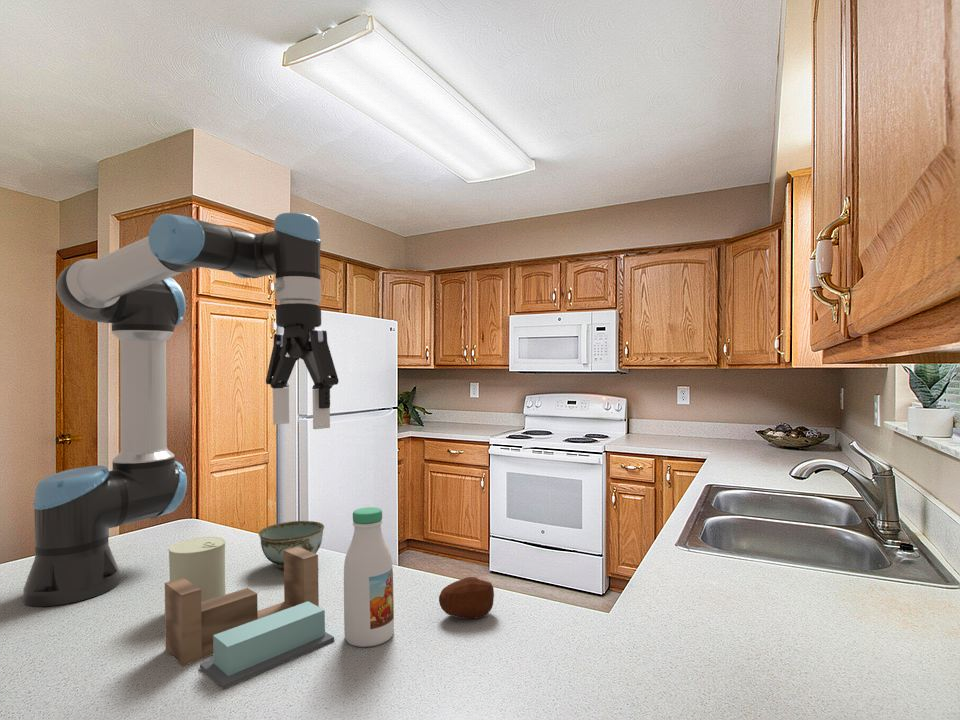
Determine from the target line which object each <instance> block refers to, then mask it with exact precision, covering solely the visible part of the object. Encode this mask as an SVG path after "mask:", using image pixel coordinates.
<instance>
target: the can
mask: <svg viewBox="0 0 960 720" xmlns="http://www.w3.org/2000/svg"><path fill="white" fill-rule="evenodd" d="M168 558H169V560H168V563H169V564H168V565H169V567H168V568H169V582H170V581H174V580H177V579H181V578H185V579H186V580H188V581H189V582H191V583H192V584H194V585H195V586H197V587H198V588H200V589H201V602H204V601H207V600H210V599H213V598H216V597H220V596H223V595H226V594H227V593H226V539H225V538H222V537H218V536H204V537H201V536H200V537H195V538H190V539H189V538H188V539H185V540H182V541H179V542H176V543H174V544H172V545H170V546H169V547H168Z"/></svg>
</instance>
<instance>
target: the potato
mask: <svg viewBox="0 0 960 720" xmlns="http://www.w3.org/2000/svg"><path fill="white" fill-rule="evenodd" d="M494 597H495V591H494V586H493V584H492V582H489V581H487V580H483V579H479V578H478V577H475V576H467V577H464V578H462V579H459V580H456V581H453V582H452V583H450V584H448V585H446V586H445V587H444V588H442V590H440V593H439V596H438V601H439V602H438V603H439V606H440V608H441V609H442V610H443V612H444V613H445V614H446V615H447V616H451V617H454V618H455V617H456V618H459V619H465V620H476V619H480V618H482V617H486V616H487V615H489V613H490V612H491V610H492V609H493V607H494V599H495V598H494Z"/></svg>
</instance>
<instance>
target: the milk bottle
mask: <svg viewBox="0 0 960 720" xmlns="http://www.w3.org/2000/svg"><path fill="white" fill-rule="evenodd" d="M382 519H383V510H382V509H381V508H379V507H374V506H373V507H372V506H369V507H360V508H357V509H355V510H353V512H352V526H354V529H353V536H352V539H351V542H350V544H349V546H348V549H347V550H346V555H345V559H344V566H343V622H344V623H343V624H344V626H343V627H344V629H343V630H344V639H345V641H346V642H347V643H348V644H349V645H351V646H353V647H359V648H369V647H375V646H379V645H381V644H384V643H386V642H387V641H389V640H390V639H391V638H392V636H393V634H394V631H395V630H394V629H395V620H394V619H395V617H394V616H395V610H394V609H395V607H394V606H395V605H394V603H395V602H394V601H395V600H394V570H393V569H394V568H393V558H392V554H391V551H390V547H389V546H388V544H387V542H386V540H385V537H384V534H383V532H382V525H383V520H382Z"/></svg>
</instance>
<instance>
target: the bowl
mask: <svg viewBox="0 0 960 720" xmlns="http://www.w3.org/2000/svg"><path fill="white" fill-rule="evenodd" d="M324 530H325V525H324V524H323V523H321V522H318V521H311V520H295V521H294V520H293V521H286V522H281V523H276V524H271V525H269V526H266V527H264V528H262V529H261V530H259V532H258V536H259V538H260V546H261V551H262V552H263V555H264V556H265V558H266V559H267V560H268V561H270V562H271V563H272V564H275V565H276V567H277V569H278V570H280V571H284V550H286V549H290V548H294V547H297V546H298V547H300V548H303V549H305V550H308V551H310V552H312V553H315V554H318V551H319V549H320V548H321V544H322V541H323V535H324Z"/></svg>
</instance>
